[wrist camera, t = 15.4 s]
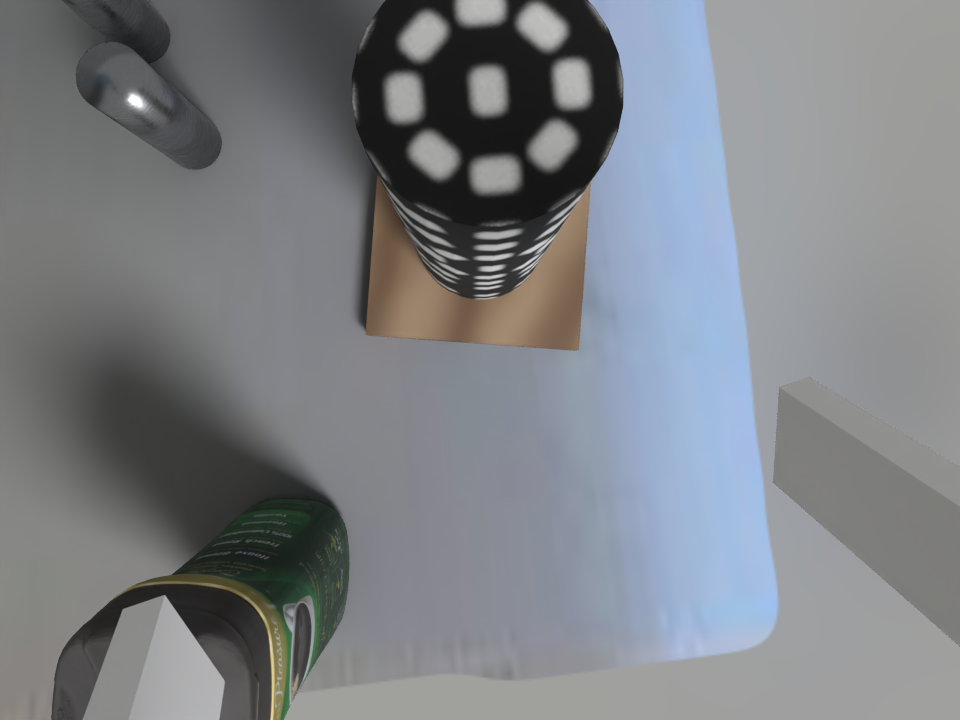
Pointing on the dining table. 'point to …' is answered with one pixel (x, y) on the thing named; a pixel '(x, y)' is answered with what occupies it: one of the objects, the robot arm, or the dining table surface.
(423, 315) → the square wooden board
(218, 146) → the spacer posts
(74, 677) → the coffee jar
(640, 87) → the dining table surface
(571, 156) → the spotted tube
